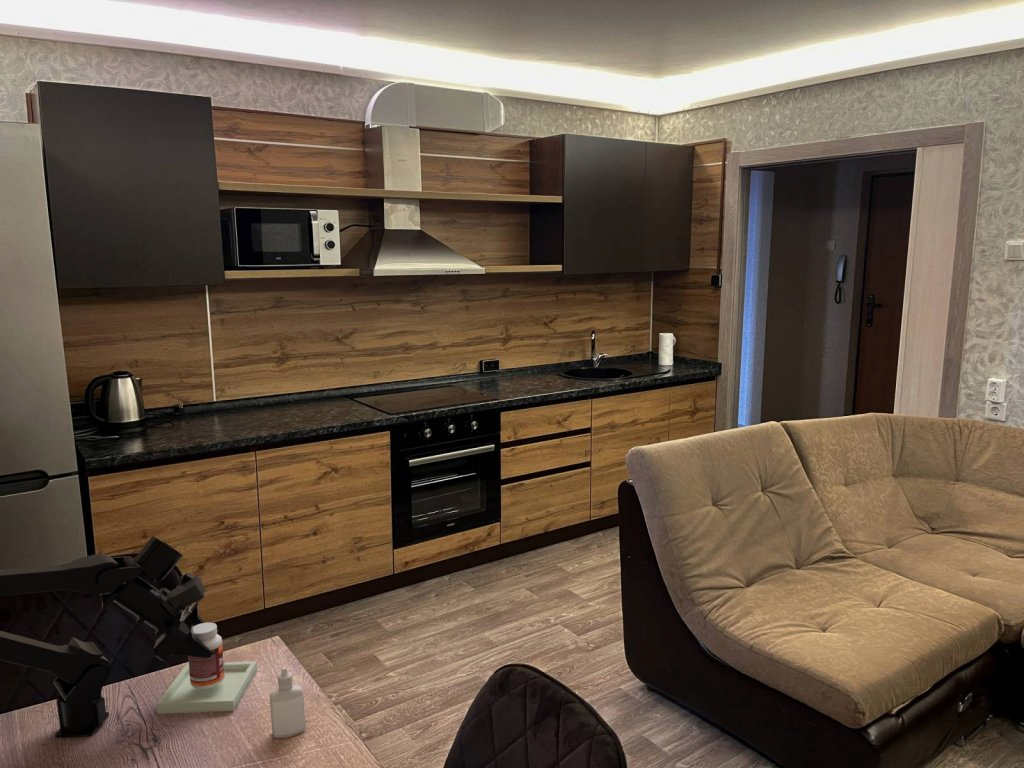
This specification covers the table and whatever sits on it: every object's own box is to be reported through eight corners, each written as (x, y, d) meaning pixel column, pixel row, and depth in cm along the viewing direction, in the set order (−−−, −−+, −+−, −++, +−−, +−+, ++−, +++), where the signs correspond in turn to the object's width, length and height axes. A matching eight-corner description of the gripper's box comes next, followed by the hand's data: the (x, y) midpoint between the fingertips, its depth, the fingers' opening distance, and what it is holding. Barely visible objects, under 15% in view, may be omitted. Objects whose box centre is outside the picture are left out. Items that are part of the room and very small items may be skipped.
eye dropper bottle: (300, 740, 129) (295, 675, 127) (268, 738, 129) (263, 674, 127) (309, 724, 133) (304, 662, 131) (279, 723, 134) (274, 661, 132)
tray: (157, 713, 137) (156, 703, 137) (188, 673, 151) (187, 663, 151) (234, 710, 138) (233, 700, 137) (257, 670, 152) (256, 661, 151)
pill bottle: (228, 683, 143) (224, 629, 141) (194, 694, 140) (189, 638, 138) (221, 670, 148) (217, 617, 147) (187, 679, 145) (183, 626, 143)
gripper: (168, 588, 131) (239, 637, 135) (182, 550, 148) (244, 595, 153) (122, 637, 130) (196, 685, 134) (142, 593, 147) (206, 637, 152)
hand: (212, 647), depth 143 cm, fingers closed on pill bottle, 6 cm apart
